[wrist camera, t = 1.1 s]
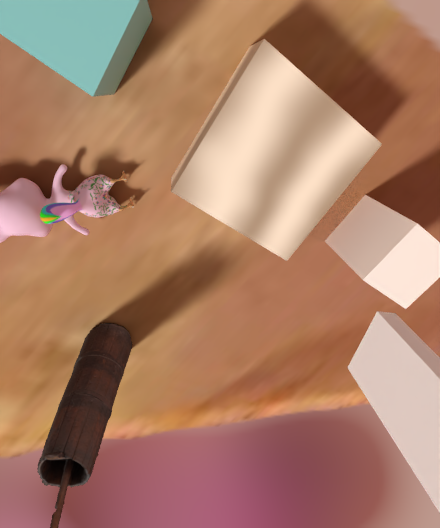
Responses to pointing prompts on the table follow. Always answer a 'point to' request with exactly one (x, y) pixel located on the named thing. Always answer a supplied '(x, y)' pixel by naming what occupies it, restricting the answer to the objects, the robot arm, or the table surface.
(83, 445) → the butter churn
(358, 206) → the off-white block
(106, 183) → the pink animal figurine
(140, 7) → the teal block
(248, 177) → the birch base
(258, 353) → the table surface
